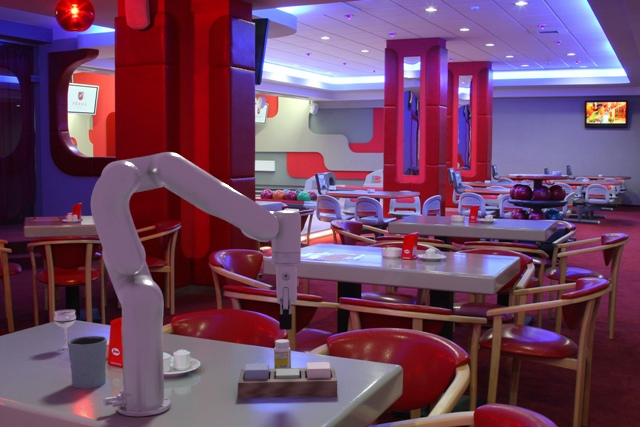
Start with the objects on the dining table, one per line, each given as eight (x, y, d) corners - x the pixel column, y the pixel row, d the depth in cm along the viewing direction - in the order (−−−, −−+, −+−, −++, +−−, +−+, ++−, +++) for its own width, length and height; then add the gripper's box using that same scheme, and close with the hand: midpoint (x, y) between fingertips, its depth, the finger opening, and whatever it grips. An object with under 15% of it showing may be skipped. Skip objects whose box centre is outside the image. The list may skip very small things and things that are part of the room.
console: (238, 398, 181) (237, 382, 181) (241, 383, 193) (241, 369, 193) (337, 396, 182) (337, 380, 182) (334, 381, 194) (334, 367, 194)
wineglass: (71, 344, 238) (70, 308, 237) (80, 348, 233) (79, 311, 232) (51, 348, 233) (50, 311, 232) (60, 351, 228) (58, 314, 227)
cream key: (307, 382, 184) (307, 368, 184) (306, 375, 190) (306, 362, 190) (330, 381, 185) (330, 368, 184) (329, 375, 191) (329, 362, 190)
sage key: (276, 389, 184) (275, 375, 184) (276, 381, 190) (276, 368, 190) (299, 388, 184) (299, 375, 184) (299, 381, 190) (299, 368, 190)
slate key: (244, 383, 184) (244, 370, 184) (246, 376, 190) (245, 363, 190) (268, 383, 184) (268, 369, 184) (268, 376, 190) (268, 363, 190)
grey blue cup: (81, 391, 187) (79, 346, 187) (61, 384, 194) (60, 340, 193) (115, 383, 195) (114, 339, 194) (95, 375, 202) (94, 333, 201)
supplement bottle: (282, 366, 209) (281, 338, 209) (294, 369, 206) (293, 340, 206) (270, 370, 206) (270, 341, 205) (283, 373, 203) (282, 343, 202)
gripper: (301, 262, 178) (300, 335, 179) (300, 255, 193) (299, 322, 194) (270, 262, 177) (270, 335, 179) (272, 255, 192) (271, 322, 193)
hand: (285, 328), depth 186 cm, fingers closed
